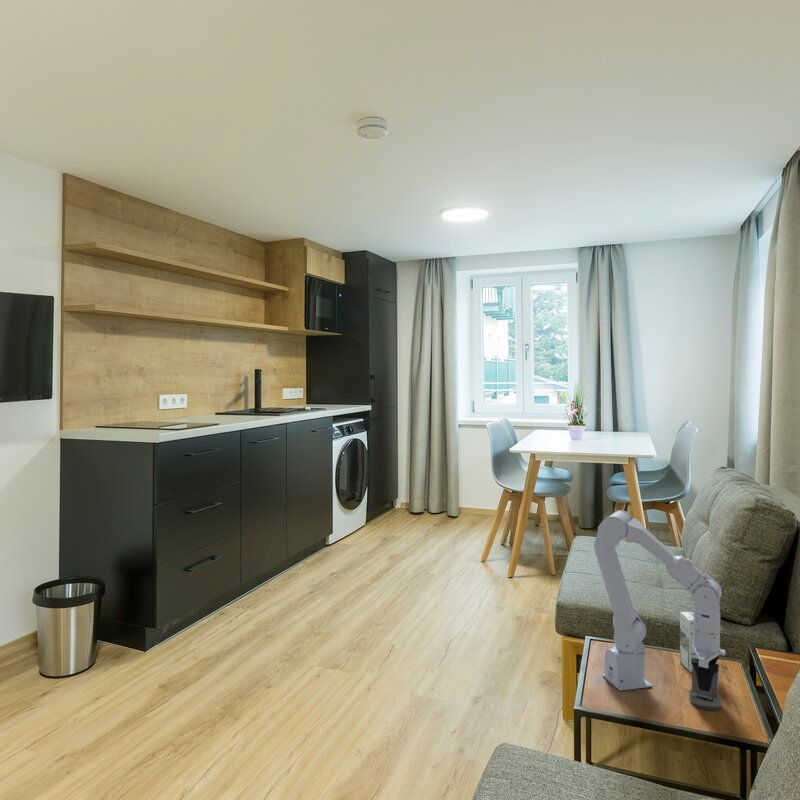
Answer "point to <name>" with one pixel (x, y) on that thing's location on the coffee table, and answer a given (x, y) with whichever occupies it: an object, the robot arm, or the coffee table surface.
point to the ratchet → (705, 701)
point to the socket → (714, 684)
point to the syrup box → (686, 639)
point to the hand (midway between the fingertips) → (705, 684)
